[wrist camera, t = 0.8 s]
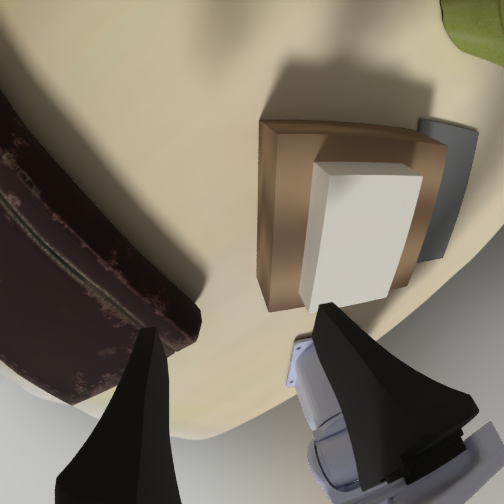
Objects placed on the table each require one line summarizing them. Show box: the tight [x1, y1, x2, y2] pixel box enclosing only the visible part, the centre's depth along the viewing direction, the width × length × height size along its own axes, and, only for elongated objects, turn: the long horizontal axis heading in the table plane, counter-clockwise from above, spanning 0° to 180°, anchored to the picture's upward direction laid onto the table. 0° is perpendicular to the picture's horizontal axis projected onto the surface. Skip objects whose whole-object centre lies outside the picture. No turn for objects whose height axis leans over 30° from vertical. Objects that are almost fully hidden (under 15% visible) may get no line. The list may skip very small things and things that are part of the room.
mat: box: [416, 118, 479, 263], centre depth 23 cm, size 14×8×1 cm, turn 179°
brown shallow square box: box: [257, 120, 449, 312], centre depth 20 cm, size 12×12×4 cm
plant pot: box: [441, 0, 504, 67], centre depth 10 cm, size 9×9×9 cm
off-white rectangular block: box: [299, 162, 423, 313], centre depth 17 cm, size 9×6×2 cm, turn 179°
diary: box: [0, 90, 202, 405], centre depth 17 cm, size 19×25×5 cm
